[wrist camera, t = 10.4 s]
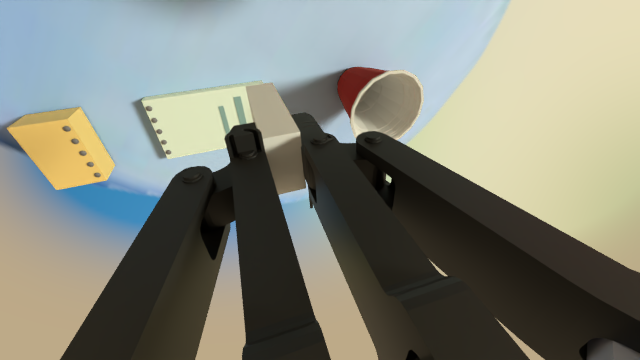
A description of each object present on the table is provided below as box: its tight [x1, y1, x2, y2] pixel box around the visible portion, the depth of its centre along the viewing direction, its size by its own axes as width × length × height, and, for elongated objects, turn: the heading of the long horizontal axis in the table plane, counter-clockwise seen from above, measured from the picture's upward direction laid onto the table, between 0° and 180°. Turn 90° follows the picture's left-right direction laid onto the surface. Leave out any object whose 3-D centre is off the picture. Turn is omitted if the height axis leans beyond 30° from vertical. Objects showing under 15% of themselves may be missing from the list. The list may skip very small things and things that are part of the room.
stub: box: [7, 107, 115, 190], centre depth 36 cm, size 9×6×4 cm, turn 4°
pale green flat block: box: [142, 80, 263, 159], centre depth 41 cm, size 9×16×2 cm, turn 94°
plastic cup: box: [337, 67, 424, 140], centre depth 41 cm, size 11×11×12 cm
